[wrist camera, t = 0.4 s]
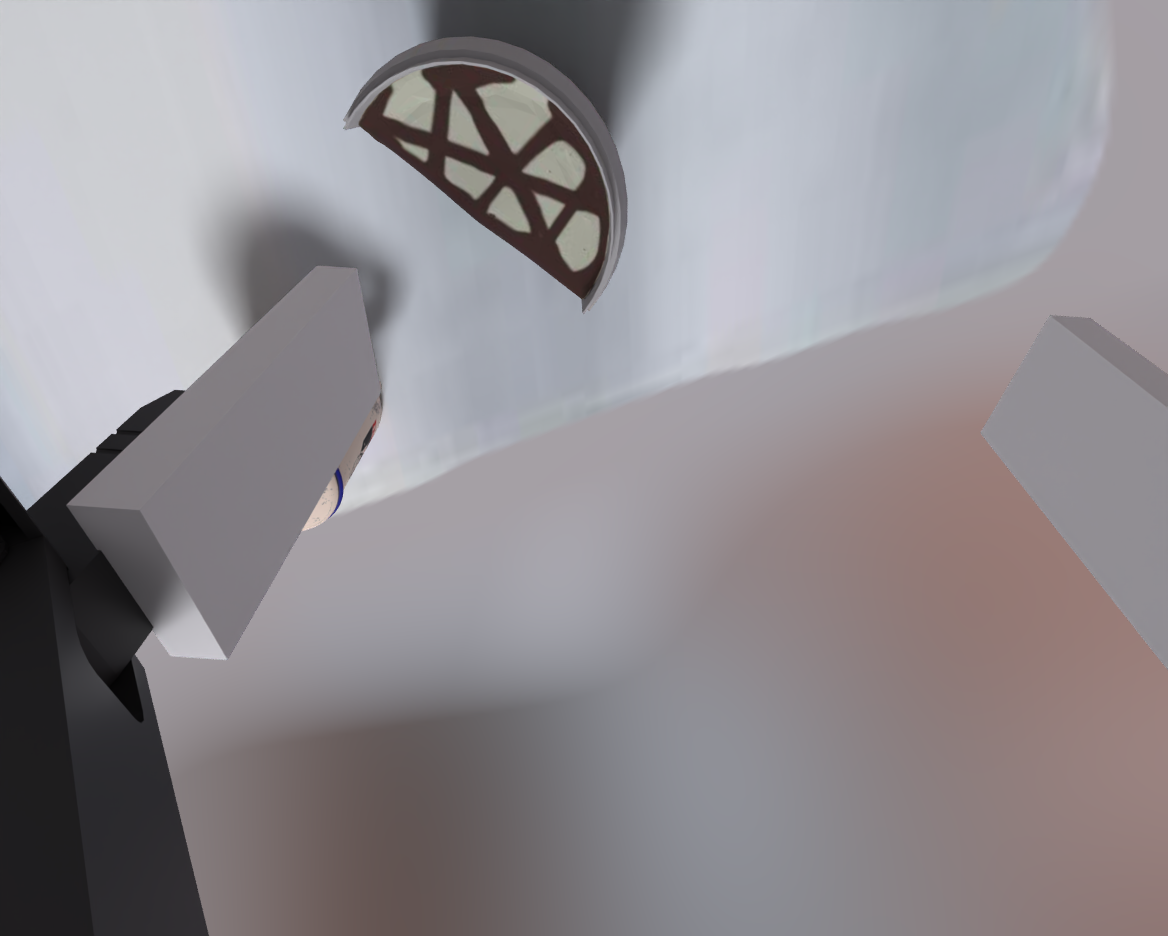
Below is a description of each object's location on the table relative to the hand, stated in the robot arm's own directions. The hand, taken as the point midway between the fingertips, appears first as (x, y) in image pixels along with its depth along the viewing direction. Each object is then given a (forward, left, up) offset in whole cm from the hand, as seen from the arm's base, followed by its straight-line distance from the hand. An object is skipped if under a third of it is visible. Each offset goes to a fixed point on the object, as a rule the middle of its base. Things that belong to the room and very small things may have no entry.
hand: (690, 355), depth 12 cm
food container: (-5, -3, -24) cm, 24 cm away
